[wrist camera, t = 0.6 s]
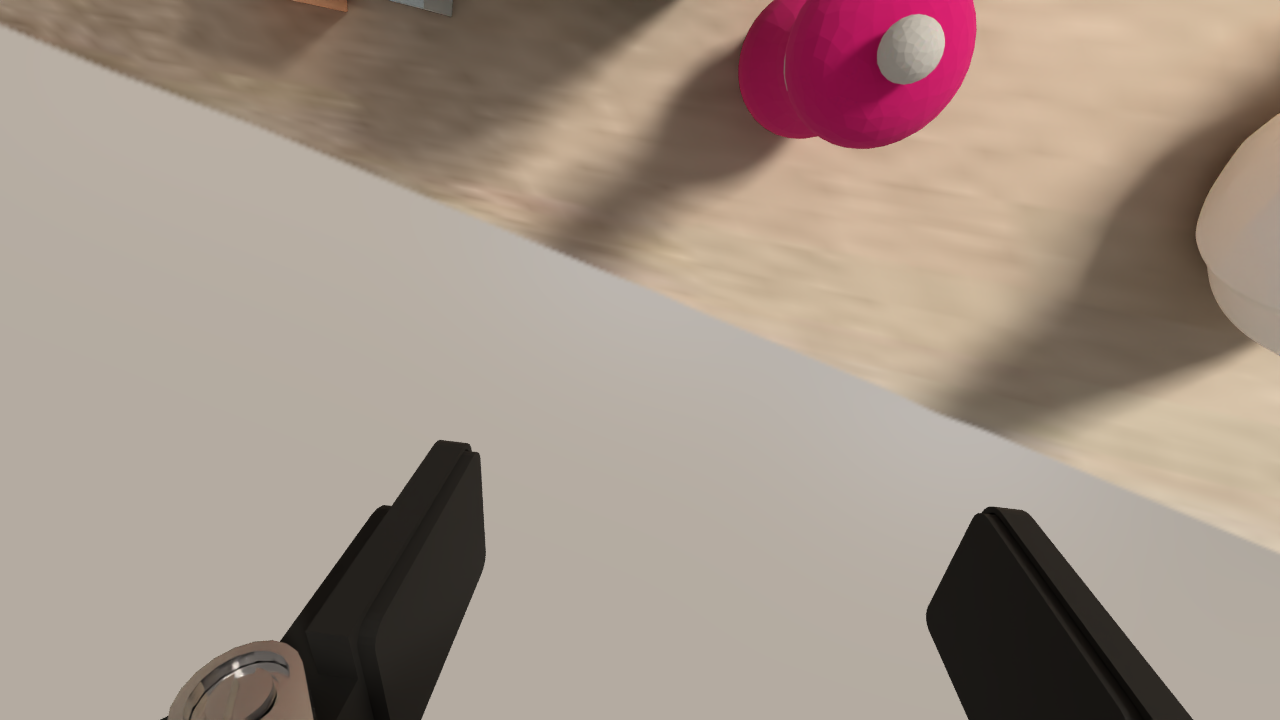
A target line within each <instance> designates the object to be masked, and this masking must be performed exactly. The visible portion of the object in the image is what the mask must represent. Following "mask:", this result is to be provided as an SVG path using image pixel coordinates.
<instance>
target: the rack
mask: <svg viewBox="0 0 1280 720" xmlns="http://www.w3.org/2000/svg"><path fill="white" fill-rule="evenodd" d="M293 1H297V2H302V3H307V4H311V5H316V6H321V7H325V8H330V9H335V10H339V11H344V12H347V0H293ZM390 1H393V2H397V3H401V4H405V5H409V6H412V7H416V8H420V9H424V10H428V11H431V12H435V13H439V14H443V15H447V16H450V17H452V5H453V0H390Z"/></svg>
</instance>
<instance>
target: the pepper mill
mask: <svg viewBox="0 0 1280 720" xmlns="http://www.w3.org/2000/svg"><path fill="white" fill-rule="evenodd" d="M975 38H976V13H975V8H974V4H973V0H774V1H772V2H771V3H770V4H769V5H768V6H767V7H766V8H765V9H764V10H763V11H762V12H761V13H760V15H759V16H758V17H757V18H756V20H755V21H754V23H753V24H752V26H751V28H750V29H749V31H748V33H747V36H746V38H745V40H744V43H743V46H742V50H741V53H740V59H739V68H738V78H739V85H740V91H741V94H742V97H743V101H744V103H745V105H746V107H747V109H748V111H749V112H750V113H751V115H752V116H753V117H754V119H755V120H756V121H757V122H758V123H759V124H761V125H762V126H763V127H764V128H765V129H767V130H769V131H771V132H772V133H774V134H776V135H780V136H783V137H787V138H796V139H804V138H810V137H816V136H819V137H820V138H822V139H824V140H826V141H828V142H830V143H832V144H835V145H838V146H842V147H846V148H856V149H869V148H875V147H881V146H886V145H889V144H892V143H895V142H898V141H900V140H902V139H904V138H906V137H908V136H910V135H912V134H914V133H916V132H917V131H919V130H920V129H922V128H923V127H925V126H926V125H927V124H928V123H929V122H931V121H932V120H933V119H934V118H935V117H937V116H938V115H939V113H940V112H941V111H942V110H943V109H944V108H945V107H946V105H947V104H948V103H949V102H950V101H951V99H952V98H953V96H954V95H955V93H956V92H957V91H958V89H959V88H960V86H961V84H962V82H963V80H964V78H965V75H966V73H967V71H968V69H969V66H970V62H971V59H972V55H973V51H974V46H975Z"/></svg>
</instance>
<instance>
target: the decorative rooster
mask: <svg viewBox="0 0 1280 720" xmlns="http://www.w3.org/2000/svg"><path fill="white" fill-rule="evenodd" d="M1196 241H1197V246H1198V249H1199V252H1200V254H1201V256H1202V258H1203V260H1204V262H1205V263H1206V265H1207V270H1208V277H1209V283H1210V287H1211V290H1212V293H1213V295H1214V297H1215V299H1216V301H1217V303H1218V305H1219V307H1220V308H1221V310H1222V311H1223V313H1224V314H1225V315H1226V316H1227V318H1228V319H1229V320H1230V321H1231V322H1232V323H1233V324H1234V325H1235V326H1236V327H1237V328H1238V329H1239V330H1240V331H1241V332H1243V333H1244V334H1245V335H1246V336H1248V337H1249V338H1250V339H1252V340H1253V341H1255V342H1256V343H1258V344H1260V345H1261V346H1263V347H1265V348H1267V349H1268V350H1270V351H1272V352H1274V353H1276V354H1277V355H1279V356H1280V113H1279V114H1277V115H1276V116H1275V117H1273V118H1272V119H1271V120H1269V121H1268V122H1267V123H1266V124H1264V125H1263V126H1262V127H1260V128H1259V129H1258V130H1257V131H1255V132H1254V133H1253V134H1252V135H1250V136H1249V137H1248V138H1247V139H1246V140H1245V141H1244V142H1243V143H1242V144H1241V146H1240V147H1239V148H1238V149H1237V151H1236V152H1235V153H1234V155H1233V156H1232V157H1231V159H1230V160H1229V162H1228V163H1227V164H1226V166H1225V167H1224V169H1223V170H1222V172H1221V173H1220V175H1219V176H1218V178H1217V180H1216V181H1215V183H1214V184H1213V186H1212V188H1211V189H1210V191H1209V193H1208V195H1207V197H1206V199H1205V202H1204V204H1203V207H1202V209H1201V212H1200V215H1199V219H1198V223H1197V227H1196Z"/></svg>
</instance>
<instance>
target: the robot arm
mask: <svg viewBox="0 0 1280 720" xmlns="http://www.w3.org/2000/svg"><path fill="white" fill-rule="evenodd" d="M480 463H481V462H480V455H479V453H478V452H472V450H471V446H470V444H468V443H461V442H452V441H444V440H439V441H437V442H436V443H435V444H434V446H433V447H432V448H431V450H430V451H429V453H428V454H427V456H426V457H425V459H424V460H423V461H422V463H421V464H420V466H419V467H418V469H417V470H416V472H415V473H414V474H413V476H412V477H411V479H410V480H409V482H408V483H407V485H406V486H405V487H404V489H403V490H402V492H401V494H400V495H399V497H398V498H397V499H396V501H395V502H394V503H393V505H392V506H386V505H383V506H381V507H379V508H377V509H376V510H375V512H374V513H373V514H372V515H371V516H370V518H369V519H368V521H367V522H366V523H365V525H364V526H363V527H362V529H361V530H360V532H359V533H358V534H357V536H356V537H355V539H354V540H353V541H352V543H351V544H350V545H349V547H348V548H347V550H346V551H345V552H344V554H343V555H342V557H341V558H340V559H339V561H338V562H337V563H336V565H335V566H334V568H333V569H332V570H331V572H330V573H329V575H328V576H327V577H326V579H325V580H324V581H323V583H322V584H321V586H320V587H319V588H318V590H317V591H316V592H315V594H314V595H313V597H312V598H311V599H310V601H309V602H308V604H307V605H306V606H305V608H304V609H303V610H302V612H301V613H300V615H299V616H298V617H297V619H296V620H295V621H294V623H293V624H292V626H291V627H290V628H289V630H288V631H287V632H286V634H285V635H284V637H283V638H282V640H281V641H280V642H278V641H273V640H270V641H257V642H252V643H249V644H245V645H242V646H239V647H235V648H233V649H231V650H229V651H228V652H226V653H224V654H222V655H220V656H218V657H216V658H214V659H213V660H212V661H210V662H209V663H208V664H206V665H205V666H204V667H202V668H201V669H200V670H199V671H197V672H196V673H195V674H194V675H193V676H192V677H191V678H190V680H189V681H188V682H187V683H186V684H185V685H184V686H183V687H182V688H181V690H180V691H179V693H178V695H177V696H176V698H175V700H174V702H173V703H172V705H171V707H170V711H169V715H168V716H167V717H165V718H163V719H161V720H421V719H422V716H423V714H424V711H425V709H426V706H427V704H428V701H429V699H430V697H431V694H432V692H433V690H434V687H435V685H436V682H437V680H438V677H439V675H440V673H441V670H442V668H443V665H444V663H445V660H446V658H447V656H448V653H449V651H450V648H451V646H452V644H453V641H454V639H455V636H456V634H457V631H458V629H459V627H460V624H461V622H462V619H463V617H464V615H465V612H466V610H467V607H468V605H469V602H470V600H471V598H472V595H473V593H474V590H475V588H476V585H477V583H478V581H479V578H480V576H481V573H482V570H483V567H484V563H485V556H486V551H485V550H486V549H485V532H484V514H483V497H482V480H481V464H480ZM926 621H927V626H928V629H929V632H930V634H931V636H932V638H933V641H934V643H935V645H936V647H937V650H938V652H939V654H940V656H941V659H942V661H943V663H944V665H945V668H946V670H947V672H948V674H949V677H950V679H951V681H952V683H953V686H954V688H955V690H956V692H957V694H958V697H959V699H960V701H961V704H962V706H963V708H964V710H965V712H966V715H967V717H968V719H969V720H1193V719H1192V718H1191V716H1190V715H1189V714H1188V713H1187V712H1186V710H1185V709H1184V708H1183V706H1182V705H1181V704H1180V703H1179V701H1178V700H1177V699H1176V698H1175V696H1174V695H1173V694H1172V693H1171V691H1170V690H1169V689H1168V688H1167V686H1166V685H1165V684H1164V682H1163V681H1162V680H1161V679H1160V677H1159V676H1158V675H1157V674H1156V672H1155V671H1154V670H1153V669H1152V667H1151V666H1150V665H1149V664H1148V662H1146V660H1145V659H1144V657H1143V656H1142V655H1141V654H1140V652H1139V651H1138V650H1137V649H1136V647H1135V646H1134V645H1133V644H1132V642H1131V641H1130V640H1129V639H1128V638H1127V636H1126V635H1125V633H1124V632H1123V631H1122V630H1121V628H1120V627H1119V626H1118V625H1117V623H1116V622H1115V621H1114V620H1113V618H1112V617H1111V616H1110V615H1109V613H1108V612H1107V611H1106V610H1105V609H1104V607H1103V606H1102V605H1101V603H1100V602H1099V601H1098V600H1097V598H1096V597H1095V596H1094V595H1093V593H1092V592H1091V591H1090V590H1089V588H1088V587H1087V586H1086V585H1085V583H1084V582H1083V581H1082V579H1081V578H1080V577H1079V576H1078V575H1077V573H1076V572H1075V571H1074V569H1073V568H1072V567H1071V566H1070V564H1069V563H1068V562H1067V561H1066V559H1065V558H1064V557H1063V556H1062V554H1061V553H1060V552H1059V551H1058V549H1057V548H1056V547H1055V546H1054V544H1053V543H1052V542H1051V541H1050V539H1049V538H1048V537H1047V536H1046V534H1045V533H1044V532H1043V531H1042V529H1041V528H1040V527H1039V525H1038V524H1037V523H1036V522H1035V520H1034V519H1033V518H1032V517H1031V516H1030V515H1029V514H1028V513H1027V512H1025V511H1023V510H1016V509H1008V508H1000V507H987V508H986V509H984V511H983V512H982V513H978V514H976V515H975V516H974V517H973V519H972V521H971V523H970V525H969V527H968V529H967V531H966V533H965V535H964V537H963V539H962V541H961V543H960V545H959V547H958V549H957V550H956V552H955V554H954V556H953V558H952V560H951V562H950V564H949V566H948V569H947V570H946V572H945V574H944V576H943V578H942V580H941V582H940V584H939V586H938V588H937V590H936V592H935V594H934V596H933V598H932V600H931V602H930V604H929V606H928V609H927V613H926Z"/></svg>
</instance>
